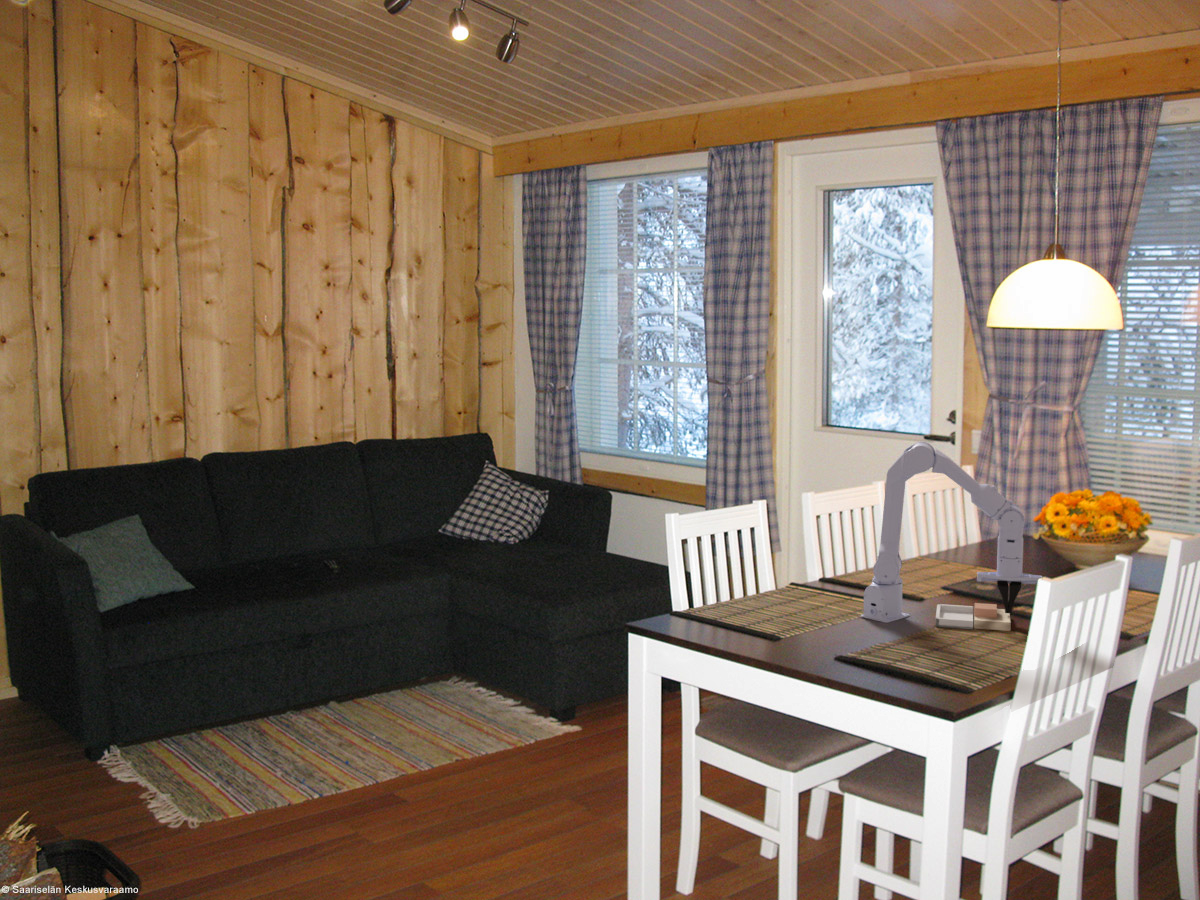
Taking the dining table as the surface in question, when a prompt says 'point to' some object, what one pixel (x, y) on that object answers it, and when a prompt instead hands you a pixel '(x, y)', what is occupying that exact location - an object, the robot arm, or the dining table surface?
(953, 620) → the tray
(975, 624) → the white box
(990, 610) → the tile
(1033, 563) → the dining table surface
